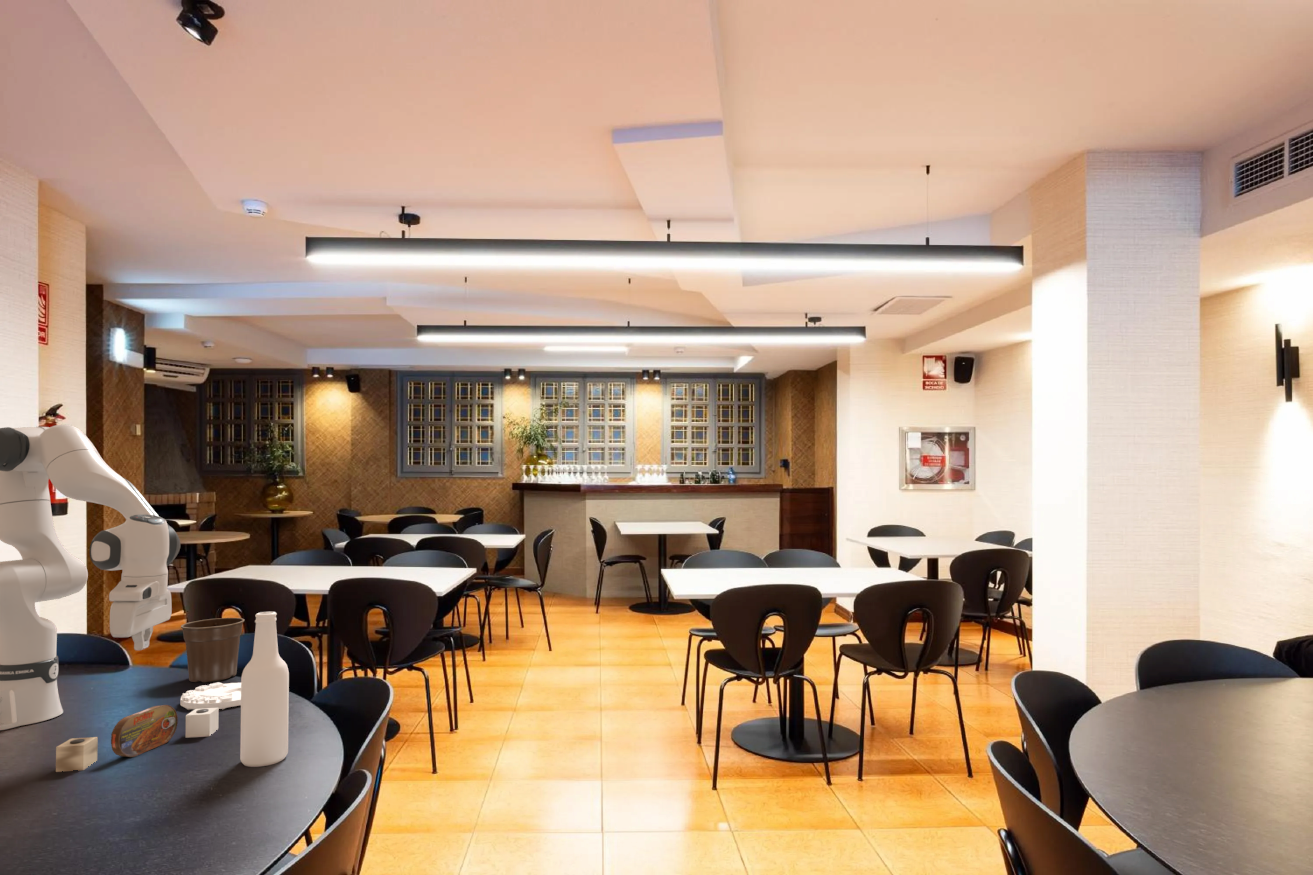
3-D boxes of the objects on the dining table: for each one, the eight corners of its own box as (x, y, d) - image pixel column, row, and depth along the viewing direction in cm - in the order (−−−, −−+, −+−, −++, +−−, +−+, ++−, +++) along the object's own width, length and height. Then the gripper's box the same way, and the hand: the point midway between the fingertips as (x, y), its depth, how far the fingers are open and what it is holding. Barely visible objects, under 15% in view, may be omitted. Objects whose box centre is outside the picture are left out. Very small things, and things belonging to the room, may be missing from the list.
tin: (119, 762, 159) (120, 721, 159) (107, 762, 159) (107, 720, 160) (178, 738, 173) (179, 700, 174) (167, 737, 174) (167, 699, 174)
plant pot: (171, 678, 225) (172, 623, 226) (230, 667, 238) (231, 615, 239) (192, 688, 215) (193, 629, 216) (253, 676, 227) (253, 620, 228)
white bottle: (297, 754, 162) (298, 610, 163) (263, 769, 153) (265, 617, 155) (265, 750, 165) (266, 608, 166) (230, 764, 156) (231, 615, 158)
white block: (185, 737, 174) (185, 714, 174) (195, 730, 179) (195, 707, 179) (209, 736, 174) (209, 713, 175) (218, 729, 179) (218, 706, 180)
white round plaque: (279, 700, 204) (279, 688, 204) (196, 717, 189) (196, 705, 189) (248, 686, 217) (249, 676, 217) (169, 702, 203) (169, 690, 203)
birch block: (55, 772, 154) (56, 745, 154) (70, 762, 159) (71, 737, 159) (83, 770, 155) (83, 744, 155) (97, 761, 160) (97, 735, 160)
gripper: (152, 580, 184) (149, 638, 184) (104, 594, 164) (101, 660, 164) (180, 580, 185) (178, 638, 185) (136, 594, 165) (133, 659, 165)
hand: (141, 648), depth 174 cm, fingers closed
